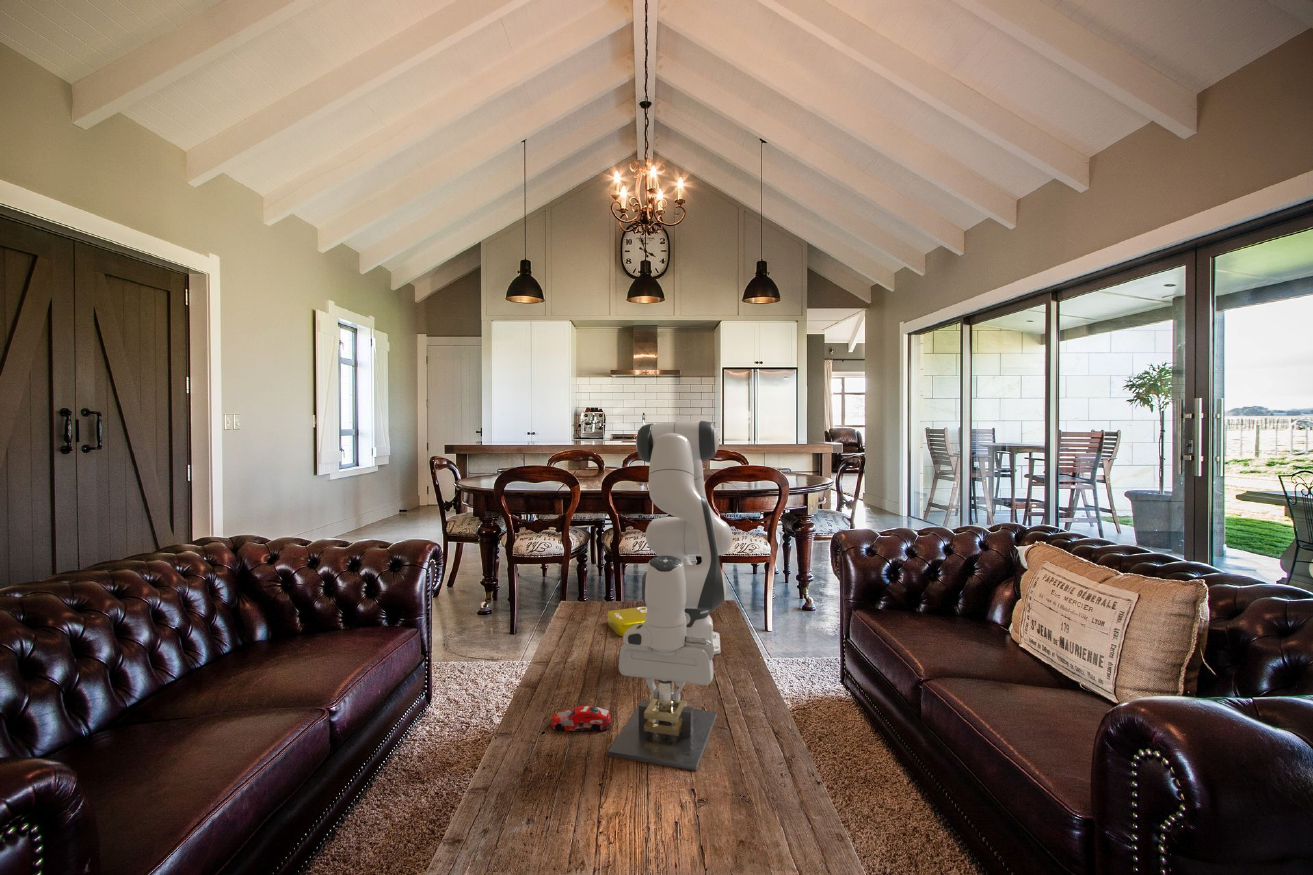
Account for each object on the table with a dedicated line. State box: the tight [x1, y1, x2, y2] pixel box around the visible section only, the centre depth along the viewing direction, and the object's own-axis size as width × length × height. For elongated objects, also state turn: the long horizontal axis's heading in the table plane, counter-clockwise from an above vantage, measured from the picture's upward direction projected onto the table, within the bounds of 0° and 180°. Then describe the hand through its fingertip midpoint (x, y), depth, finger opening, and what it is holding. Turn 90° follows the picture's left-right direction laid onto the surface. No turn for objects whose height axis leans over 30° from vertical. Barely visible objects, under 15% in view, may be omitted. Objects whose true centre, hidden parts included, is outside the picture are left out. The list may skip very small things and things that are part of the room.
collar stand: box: [607, 698, 718, 772], centre depth 125 cm, size 22×18×6 cm
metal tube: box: [657, 680, 674, 726], centre depth 125 cm, size 3×3×12 cm
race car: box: [550, 705, 612, 732], centre depth 129 cm, size 13×5×4 cm, turn 88°
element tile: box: [607, 606, 647, 637], centre depth 194 cm, size 15×15×5 cm
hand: (665, 699), depth 125 cm, fingers closed on metal tube, 3 cm apart
